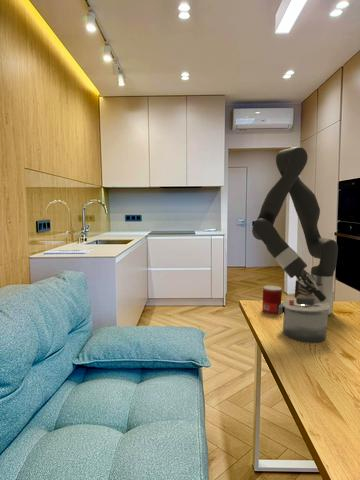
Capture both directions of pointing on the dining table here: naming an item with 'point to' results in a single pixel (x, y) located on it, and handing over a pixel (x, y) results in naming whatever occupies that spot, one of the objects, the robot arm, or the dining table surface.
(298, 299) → the lid
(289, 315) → the cooker pot
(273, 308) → the canned food
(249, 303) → the dining table surface
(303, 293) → the coffee box
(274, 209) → the robot arm
